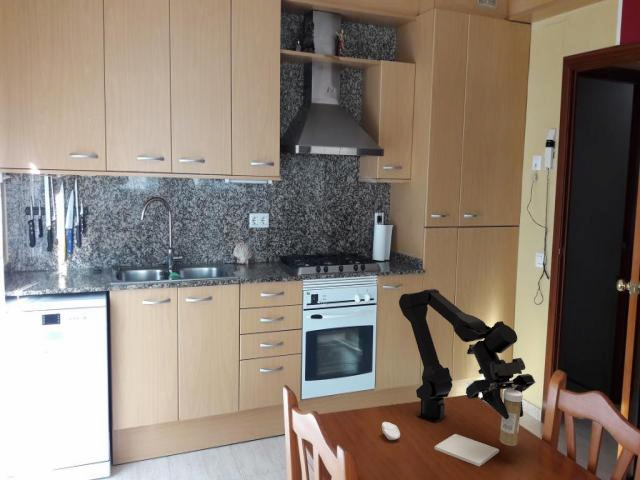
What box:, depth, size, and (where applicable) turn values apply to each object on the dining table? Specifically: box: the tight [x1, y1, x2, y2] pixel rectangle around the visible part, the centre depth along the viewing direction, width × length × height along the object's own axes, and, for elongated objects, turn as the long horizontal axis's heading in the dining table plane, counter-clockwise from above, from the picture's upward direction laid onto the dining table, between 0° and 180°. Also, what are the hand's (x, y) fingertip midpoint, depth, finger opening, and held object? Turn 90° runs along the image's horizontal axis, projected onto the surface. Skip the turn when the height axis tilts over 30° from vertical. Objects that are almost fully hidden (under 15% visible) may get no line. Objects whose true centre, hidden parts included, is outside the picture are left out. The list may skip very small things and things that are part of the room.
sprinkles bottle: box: [499, 389, 524, 447], centre depth 142 cm, size 5×5×13 cm
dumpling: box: [381, 421, 401, 441], centre depth 154 cm, size 7×5×4 cm
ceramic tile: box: [434, 433, 500, 468], centre depth 148 cm, size 13×11×1 cm
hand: (514, 417), depth 140 cm, fingers closed on sprinkles bottle, 4 cm apart
